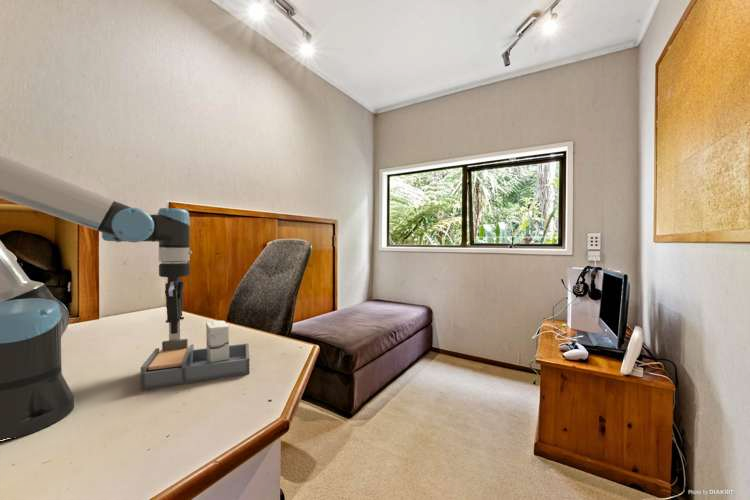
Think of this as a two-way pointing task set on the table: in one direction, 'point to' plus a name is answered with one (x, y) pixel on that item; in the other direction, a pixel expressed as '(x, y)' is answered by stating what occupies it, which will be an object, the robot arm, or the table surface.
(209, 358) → the ink box
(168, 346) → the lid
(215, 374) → the tray
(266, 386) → the table surface
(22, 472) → the table surface
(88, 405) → the table surface
